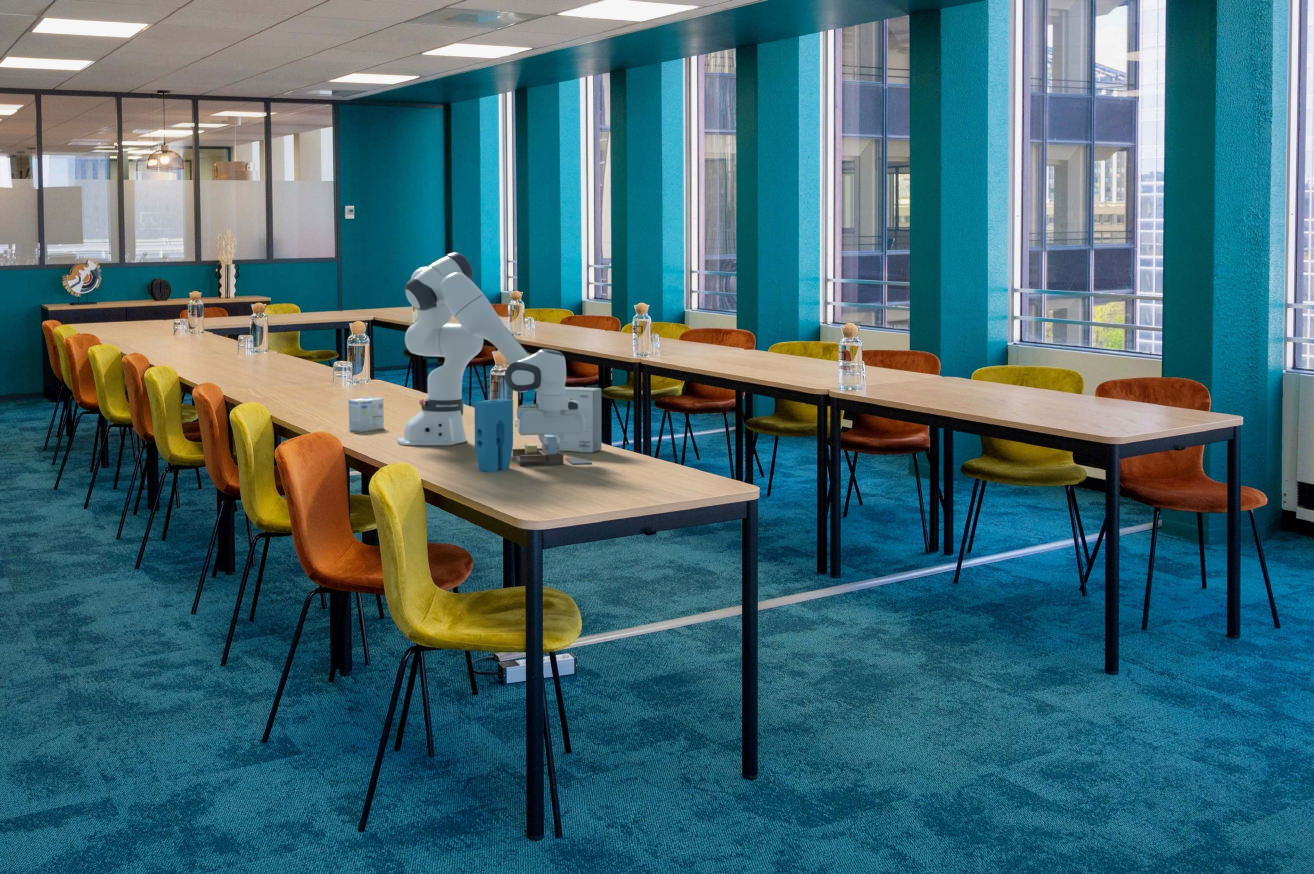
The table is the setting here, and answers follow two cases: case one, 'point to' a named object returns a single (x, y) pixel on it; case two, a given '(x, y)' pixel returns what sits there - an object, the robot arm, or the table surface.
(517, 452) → the rack
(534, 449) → the offcut upper
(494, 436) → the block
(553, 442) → the light blue rectangular block
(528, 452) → the offcut lower
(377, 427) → the light bulb box
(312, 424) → the table surface
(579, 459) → the mat
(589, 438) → the hard drive box
